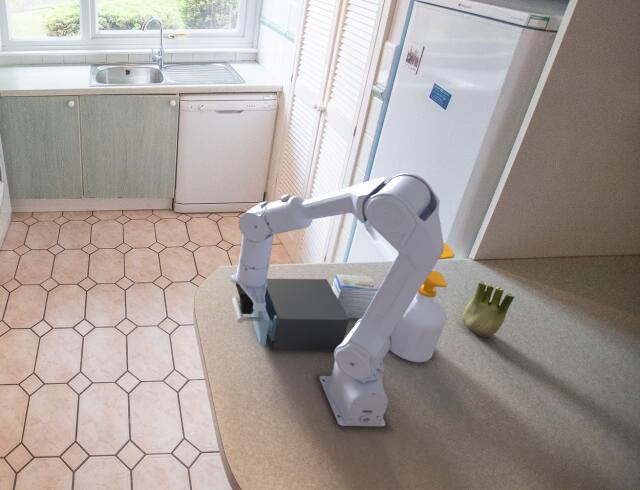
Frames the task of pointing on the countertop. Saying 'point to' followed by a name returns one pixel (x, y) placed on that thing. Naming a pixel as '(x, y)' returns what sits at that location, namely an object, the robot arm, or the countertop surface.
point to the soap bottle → (422, 320)
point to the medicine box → (354, 293)
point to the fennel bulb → (486, 310)
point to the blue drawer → (259, 319)
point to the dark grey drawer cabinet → (306, 315)
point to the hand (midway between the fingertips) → (246, 311)
